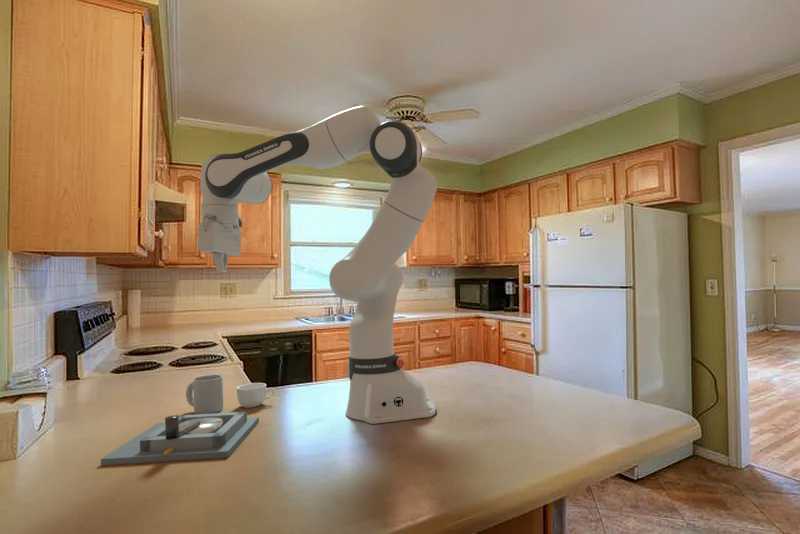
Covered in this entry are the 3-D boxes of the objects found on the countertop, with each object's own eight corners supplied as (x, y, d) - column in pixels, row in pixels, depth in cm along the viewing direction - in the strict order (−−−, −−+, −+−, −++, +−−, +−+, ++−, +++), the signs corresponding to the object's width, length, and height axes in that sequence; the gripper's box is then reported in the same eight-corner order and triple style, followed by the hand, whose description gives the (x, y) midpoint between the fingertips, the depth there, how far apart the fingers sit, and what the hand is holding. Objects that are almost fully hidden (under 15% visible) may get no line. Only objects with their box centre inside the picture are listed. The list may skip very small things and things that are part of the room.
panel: (258, 422, 105) (258, 407, 105) (228, 457, 84) (227, 439, 84) (157, 428, 104) (157, 413, 104) (100, 465, 83) (100, 447, 83)
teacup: (234, 410, 115) (233, 390, 116) (240, 403, 123) (239, 384, 123) (273, 407, 117) (272, 387, 117) (276, 400, 125) (275, 381, 125)
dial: (192, 425, 100) (191, 398, 100) (232, 426, 98) (231, 399, 98) (146, 450, 86) (145, 418, 86) (191, 451, 84) (190, 419, 84)
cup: (213, 415, 112) (212, 380, 112) (178, 415, 113) (177, 381, 114) (228, 407, 119) (227, 374, 120) (195, 407, 121) (194, 375, 121)
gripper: (217, 211, 102) (219, 270, 102) (244, 223, 123) (246, 272, 122) (190, 212, 102) (191, 271, 101) (221, 224, 122) (223, 273, 122)
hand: (221, 271), depth 112 cm, fingers closed
